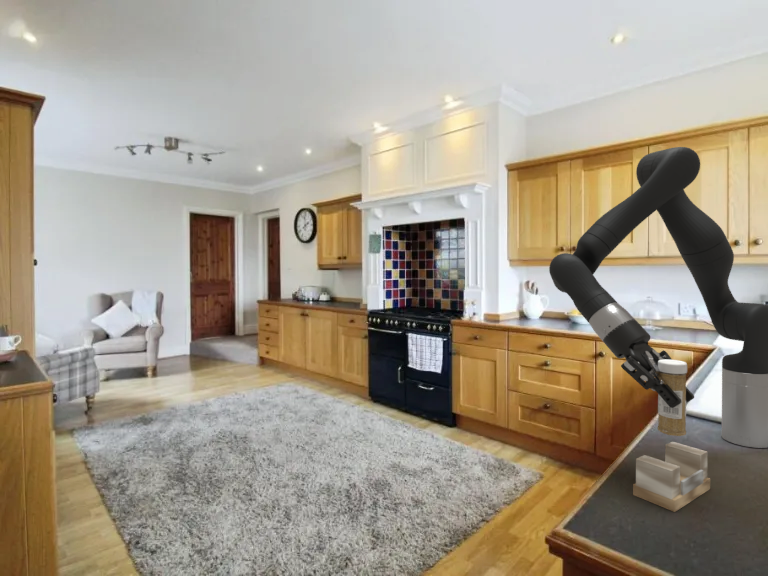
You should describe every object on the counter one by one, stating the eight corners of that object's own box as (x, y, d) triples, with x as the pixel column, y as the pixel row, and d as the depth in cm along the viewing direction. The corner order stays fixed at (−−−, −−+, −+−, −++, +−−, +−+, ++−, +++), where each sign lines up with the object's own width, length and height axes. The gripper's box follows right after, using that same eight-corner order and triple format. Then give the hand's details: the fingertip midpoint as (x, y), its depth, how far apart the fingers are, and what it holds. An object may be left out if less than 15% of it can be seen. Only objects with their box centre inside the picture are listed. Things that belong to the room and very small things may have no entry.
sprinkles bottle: (690, 433, 80) (691, 361, 79) (679, 439, 78) (680, 364, 77) (663, 426, 84) (664, 357, 83) (652, 431, 81) (653, 360, 81)
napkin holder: (669, 474, 88) (669, 440, 87) (710, 488, 82) (710, 452, 82) (633, 494, 80) (633, 457, 80) (674, 512, 74) (674, 472, 74)
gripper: (611, 320, 82) (681, 398, 73) (649, 315, 90) (717, 385, 80) (585, 344, 87) (648, 420, 77) (623, 337, 95) (685, 406, 85)
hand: (683, 402), depth 79 cm, fingers closed on sprinkles bottle, 4 cm apart
